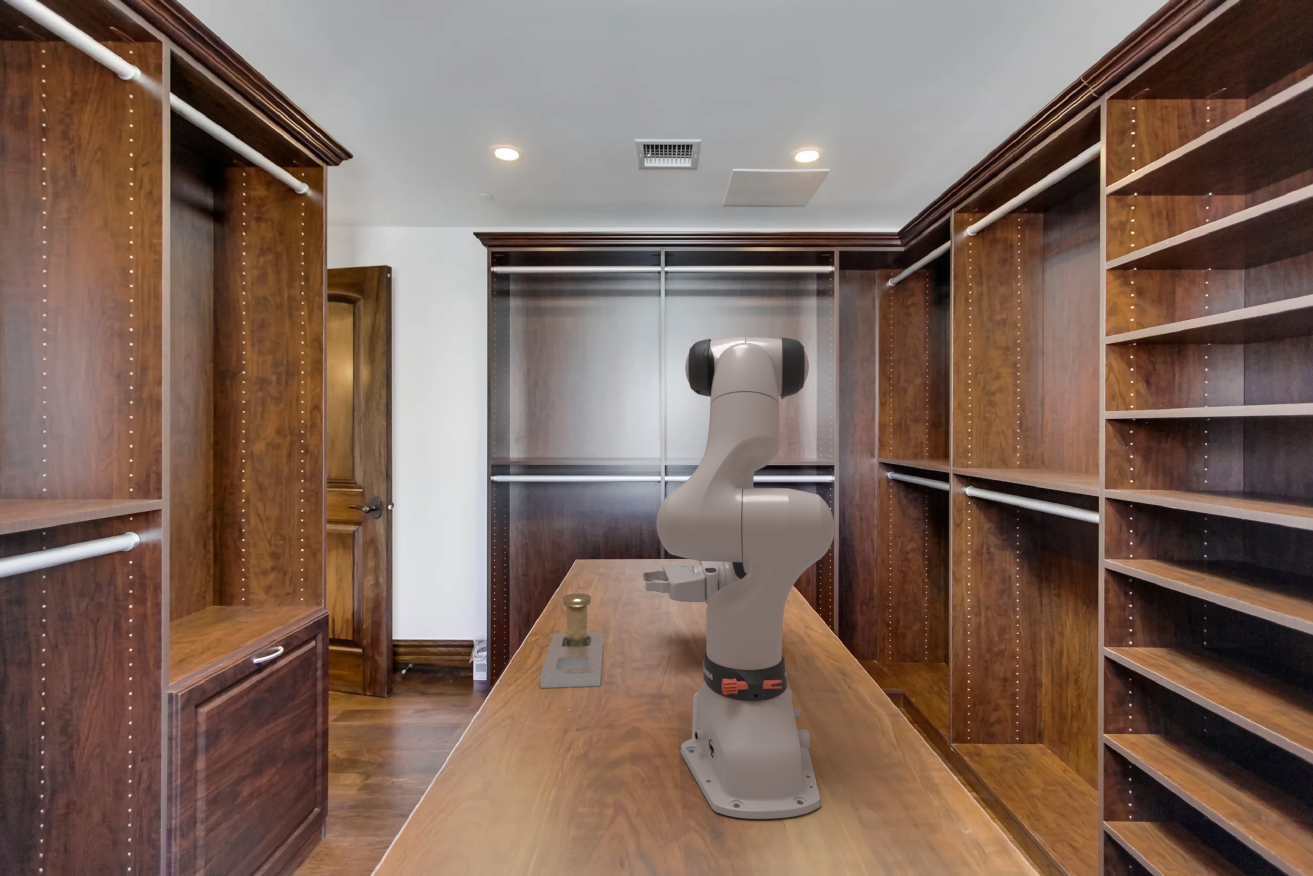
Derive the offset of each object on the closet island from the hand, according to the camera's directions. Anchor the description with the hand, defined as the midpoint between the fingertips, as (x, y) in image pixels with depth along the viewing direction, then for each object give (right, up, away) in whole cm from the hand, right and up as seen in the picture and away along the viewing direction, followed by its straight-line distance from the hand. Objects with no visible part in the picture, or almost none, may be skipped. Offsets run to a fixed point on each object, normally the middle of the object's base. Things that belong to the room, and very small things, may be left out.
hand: (644, 581), depth 124 cm
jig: (-14, -16, -5) cm, 22 cm away
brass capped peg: (-15, -16, +1) cm, 21 cm away
